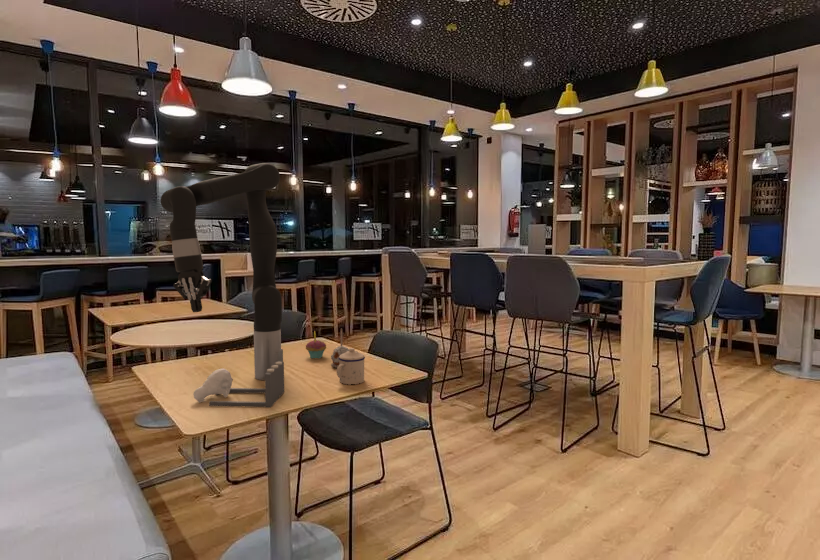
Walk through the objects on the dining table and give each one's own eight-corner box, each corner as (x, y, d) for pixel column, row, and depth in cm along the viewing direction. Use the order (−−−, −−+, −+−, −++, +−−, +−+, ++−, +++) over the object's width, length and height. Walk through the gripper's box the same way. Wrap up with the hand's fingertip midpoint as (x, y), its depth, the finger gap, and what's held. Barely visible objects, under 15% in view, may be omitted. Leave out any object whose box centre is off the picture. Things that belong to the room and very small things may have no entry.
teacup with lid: (350, 375, 168) (350, 344, 167) (370, 380, 163) (370, 347, 162) (327, 384, 158) (327, 351, 157) (347, 389, 153) (347, 354, 152)
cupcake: (324, 360, 190) (323, 331, 189) (303, 359, 190) (303, 331, 189) (328, 354, 198) (327, 327, 197) (308, 354, 198) (307, 327, 197)
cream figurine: (233, 368, 146) (198, 381, 136) (236, 393, 147) (202, 408, 137) (221, 365, 149) (186, 377, 139) (224, 390, 151) (189, 404, 141)
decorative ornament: (328, 365, 182) (328, 327, 181) (346, 362, 186) (346, 326, 185) (336, 370, 176) (335, 331, 174) (354, 367, 179) (354, 329, 178)
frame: (285, 391, 150) (284, 359, 149) (271, 407, 136) (270, 372, 135) (227, 391, 151) (227, 359, 150) (208, 406, 137) (207, 371, 136)
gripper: (214, 251, 140) (223, 307, 141) (179, 256, 144) (189, 311, 145) (195, 253, 132) (206, 312, 134) (160, 258, 137) (170, 315, 138)
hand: (197, 311), depth 140 cm, fingers closed
